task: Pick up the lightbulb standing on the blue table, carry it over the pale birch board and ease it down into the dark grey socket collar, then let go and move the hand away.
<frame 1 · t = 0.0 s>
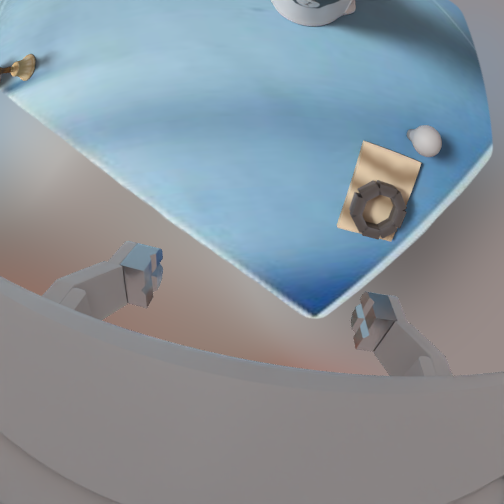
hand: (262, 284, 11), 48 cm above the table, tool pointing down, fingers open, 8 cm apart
socket board: (378, 192, 55), on the table
hand bell: (27, 67, 43), on the table
lightbulb: (409, 134, 47), on the table
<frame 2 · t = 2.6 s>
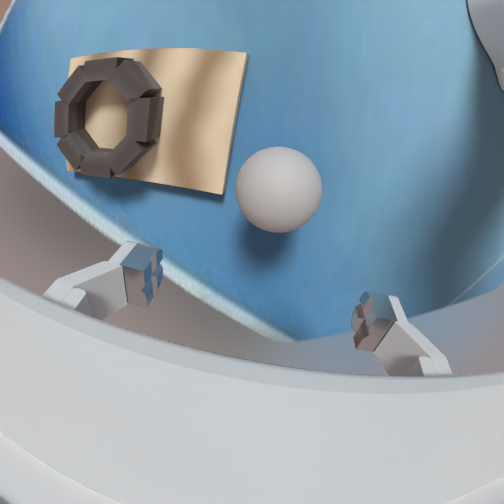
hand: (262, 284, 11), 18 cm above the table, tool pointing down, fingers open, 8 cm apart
socket board: (142, 113, 24), on the table
lightbulb: (281, 162, 26), on the table
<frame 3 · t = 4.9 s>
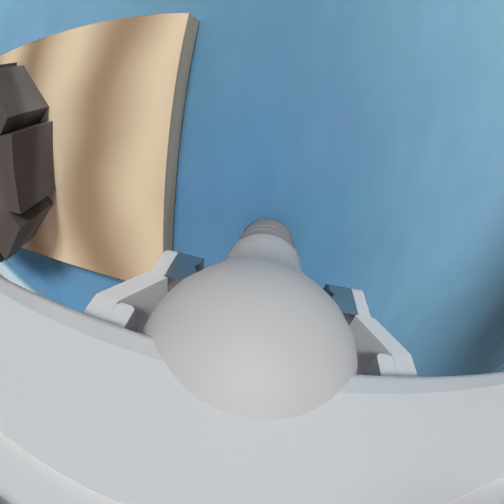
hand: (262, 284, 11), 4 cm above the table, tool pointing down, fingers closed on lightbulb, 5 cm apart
socket board: (39, 148, 12), on the table
lightbulb: (268, 232, 14), on the table, touching gripper
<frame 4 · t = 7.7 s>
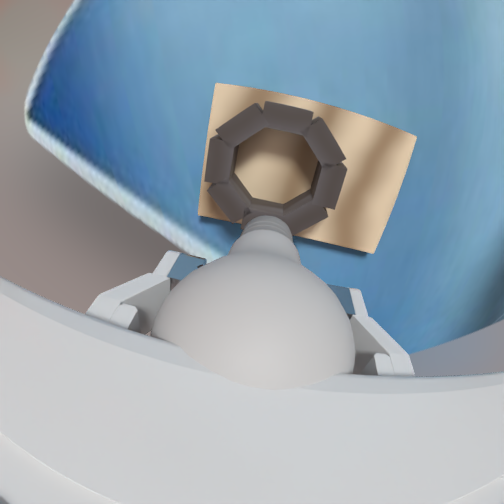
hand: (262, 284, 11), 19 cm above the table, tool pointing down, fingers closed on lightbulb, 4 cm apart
socket board: (305, 168, 27), on the table
lightbulb: (268, 228, 15), point 14 cm above the table, touching gripper
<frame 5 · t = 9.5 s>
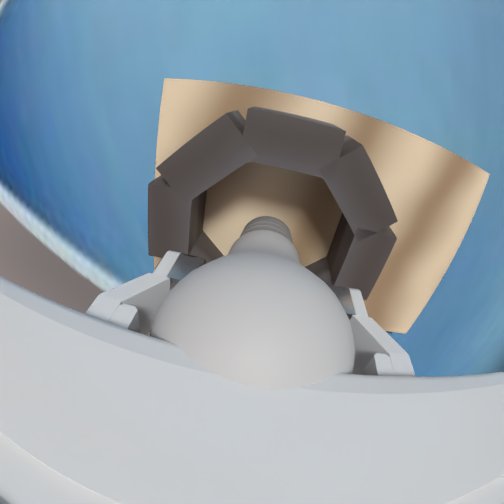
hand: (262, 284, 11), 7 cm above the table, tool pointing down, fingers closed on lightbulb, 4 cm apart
socket board: (319, 219, 17), on the table
lightbulb: (267, 229, 15), point 2 cm above the table, touching gripper
when the fingers open (6 cm above the table, at t = 10.8 s): lightbulb stays where it is, resting on socket board.
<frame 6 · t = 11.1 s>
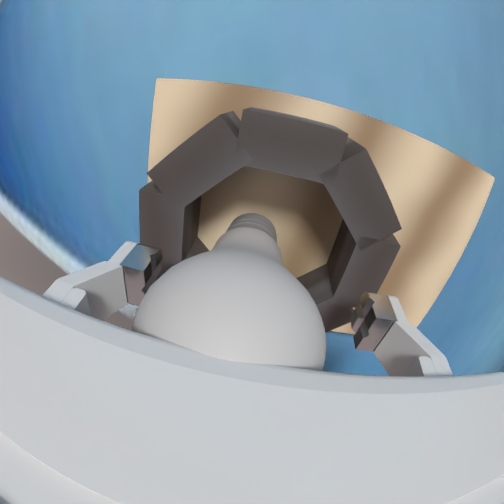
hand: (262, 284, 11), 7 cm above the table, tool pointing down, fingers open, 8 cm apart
socket board: (318, 225, 16), on the table
lightbulb: (254, 225, 15), point 1 cm above the table, touching socket board
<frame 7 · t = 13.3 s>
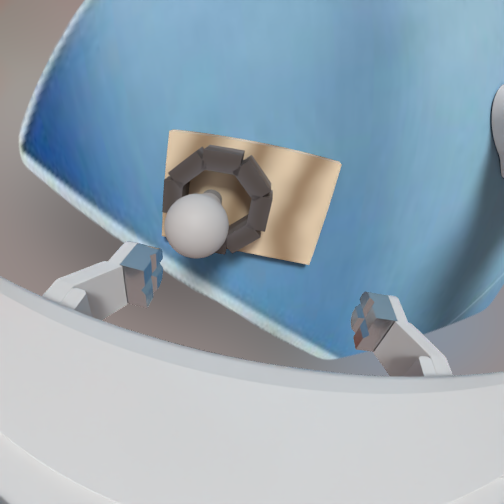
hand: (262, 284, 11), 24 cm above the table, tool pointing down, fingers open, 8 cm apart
socket board: (245, 196, 34), on the table
lightbulb: (213, 196, 33), point 1 cm above the table, touching socket board
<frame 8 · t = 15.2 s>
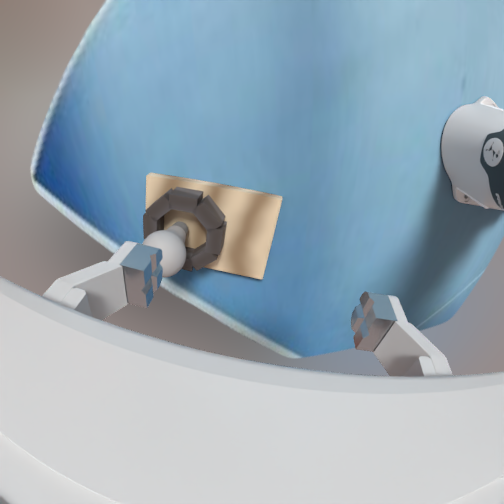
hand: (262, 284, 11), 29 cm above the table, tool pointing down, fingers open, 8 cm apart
socket board: (208, 225, 43), on the table
lightbulb: (182, 225, 42), point 1 cm above the table, touching socket board
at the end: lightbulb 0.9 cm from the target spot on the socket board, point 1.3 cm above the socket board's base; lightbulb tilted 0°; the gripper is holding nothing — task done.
